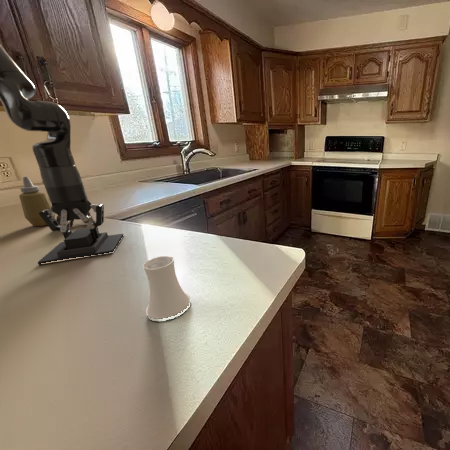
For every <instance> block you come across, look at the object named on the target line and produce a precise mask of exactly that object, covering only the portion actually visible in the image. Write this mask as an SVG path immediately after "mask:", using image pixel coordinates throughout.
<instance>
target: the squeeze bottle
mask: <svg viewBox="0 0 450 450" xmlns="http://www.w3.org/2000/svg"><path fill="white" fill-rule="evenodd" d="M22 182H23V183H22V184H23V186H22V187H19V189H20V192H21V193H20V194H19V195H18V197H19V201H20V204H21V207H22V208H21V209H22V212H23V215H24V218H25V220H26V221H28V222H29V224H30V225H32V226H33V227H44V226H48V225H47V224H46V223H45V221H44V220H43V219H42V217H41V216H40V215H39V212H41V211H43V210H45V209H47V210H48V209H51V207H52V203H51V202H50V200H49V198H48V196H47V195H46V193H45V191H41V190H40V187H39V186H38V185H34V184H33V182H32V181H31V179H30V177H28V176H22ZM53 213H54V212H53ZM55 216H56V213H54V216H53V217H54V218H55V219H56V217H55Z"/></svg>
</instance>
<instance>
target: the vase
mask: <svg viewBox="0 0 450 450" xmlns="http://www.w3.org/2000/svg"><path fill="white" fill-rule="evenodd" d="M142 268H143V271H144V272H145V275H146V277H147V281H148V286H149V300H148V305H147V306H146V309H145V314H146V317H147V316H148V317H150V318H154V319H163V318H168V317H171V316H175V315H177V314H178V313H181V311H182V312H183V310H184V309H186V308H187V306H189V303H190V300H191V297H190V295H189V294H187V293H186V292H185V290H183V288H182V286H181V285H180V282H179V280H178V278H177V275H176V274H177V273H176V270H175V258H174V257H173V256H169V255H160V256H156V257H153V258H151V259H148V260H147V261H145V262H144V263H142Z"/></svg>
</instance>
